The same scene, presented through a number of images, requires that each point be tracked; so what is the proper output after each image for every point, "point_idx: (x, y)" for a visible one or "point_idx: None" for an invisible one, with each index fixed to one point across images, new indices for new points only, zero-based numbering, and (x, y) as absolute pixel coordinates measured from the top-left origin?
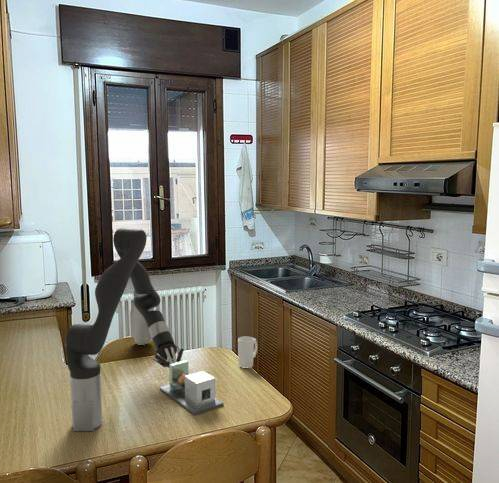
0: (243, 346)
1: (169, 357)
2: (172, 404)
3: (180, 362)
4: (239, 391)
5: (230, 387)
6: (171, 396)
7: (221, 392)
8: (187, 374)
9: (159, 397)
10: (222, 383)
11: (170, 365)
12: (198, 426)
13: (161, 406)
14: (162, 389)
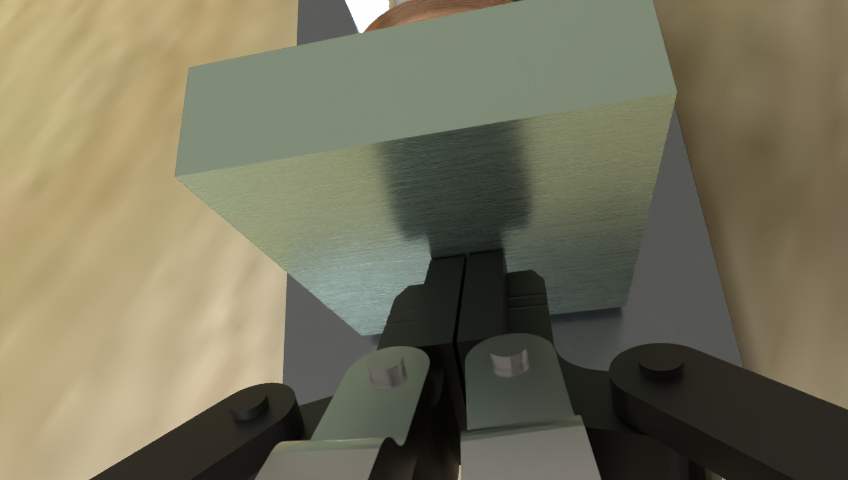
0: None
1: (525, 450)
2: (707, 9)
3: (359, 89)
4: (71, 20)
5: (63, 108)
6: (674, 118)
7: (184, 56)
8: (390, 13)
9: (815, 213)
10: (48, 213)
11: (661, 55)
12: None
13: (842, 9)
14: (736, 341)
